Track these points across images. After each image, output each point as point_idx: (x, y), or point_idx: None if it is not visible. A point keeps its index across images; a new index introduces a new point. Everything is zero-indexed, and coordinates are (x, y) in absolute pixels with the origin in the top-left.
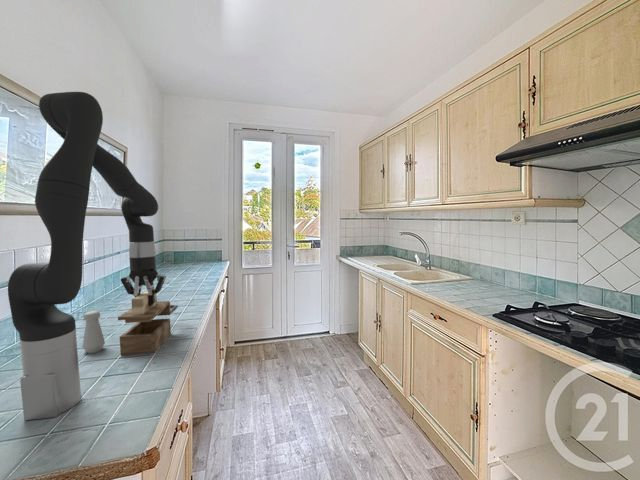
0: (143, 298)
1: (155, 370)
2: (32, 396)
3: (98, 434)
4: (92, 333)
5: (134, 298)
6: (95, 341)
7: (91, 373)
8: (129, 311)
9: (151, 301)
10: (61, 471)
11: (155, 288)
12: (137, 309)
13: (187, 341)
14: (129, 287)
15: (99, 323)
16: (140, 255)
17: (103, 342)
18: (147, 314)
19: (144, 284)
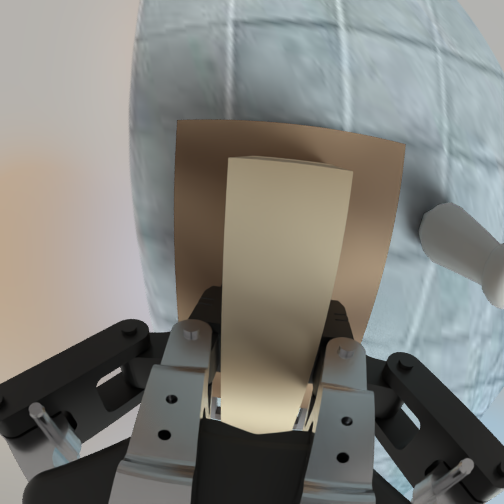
0: (227, 208)
1: (197, 25)
2: None
3: None
4: (468, 224)
5: (330, 210)
6: (446, 213)
7: (380, 54)
8: (367, 261)
9: (214, 297)
10: None
11: (116, 353)
12: (288, 159)
13: (148, 210)
14: (421, 412)
15: (468, 264)
16: None
17: (423, 230)
18: (216, 141)
19: (230, 436)
